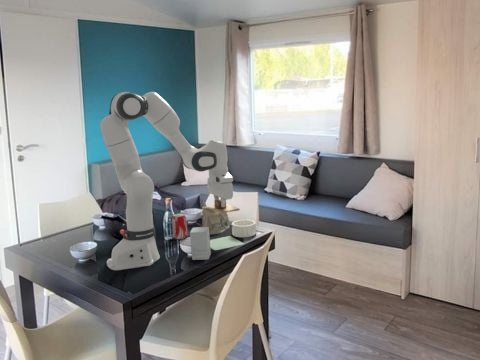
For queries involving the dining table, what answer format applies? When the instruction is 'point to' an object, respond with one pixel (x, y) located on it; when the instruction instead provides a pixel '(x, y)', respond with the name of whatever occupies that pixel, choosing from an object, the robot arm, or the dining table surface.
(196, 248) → the supplement box
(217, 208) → the lid
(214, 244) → the mat
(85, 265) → the dining table surface
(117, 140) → the robot arm
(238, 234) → the pipe section
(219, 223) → the ceramic cottage
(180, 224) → the soda can
